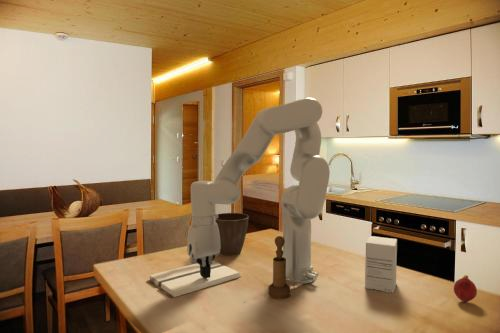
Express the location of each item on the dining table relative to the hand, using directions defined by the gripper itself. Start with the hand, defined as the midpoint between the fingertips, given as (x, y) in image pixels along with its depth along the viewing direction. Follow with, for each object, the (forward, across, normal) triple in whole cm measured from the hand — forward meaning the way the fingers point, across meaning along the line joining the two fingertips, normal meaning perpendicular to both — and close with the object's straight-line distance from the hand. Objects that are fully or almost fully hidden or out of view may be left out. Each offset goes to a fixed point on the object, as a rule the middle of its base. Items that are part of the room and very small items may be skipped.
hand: (205, 276), depth 115 cm
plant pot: (+4, -25, -21) cm, 33 cm away
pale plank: (+2, 0, -2) cm, 3 cm away
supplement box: (+5, -44, +35) cm, 57 cm away
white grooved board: (+3, +1, -6) cm, 7 cm away
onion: (+5, -52, +57) cm, 77 cm away
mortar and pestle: (+4, -14, +19) cm, 24 cm away
